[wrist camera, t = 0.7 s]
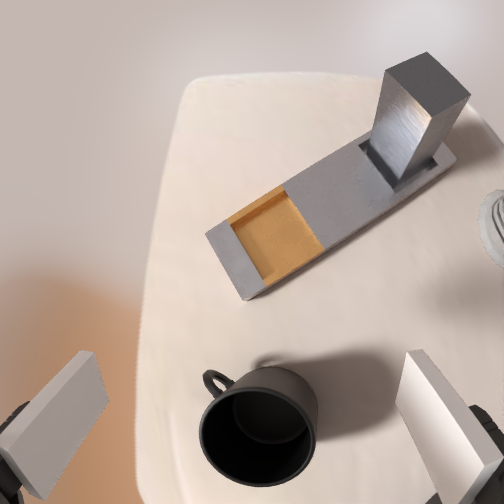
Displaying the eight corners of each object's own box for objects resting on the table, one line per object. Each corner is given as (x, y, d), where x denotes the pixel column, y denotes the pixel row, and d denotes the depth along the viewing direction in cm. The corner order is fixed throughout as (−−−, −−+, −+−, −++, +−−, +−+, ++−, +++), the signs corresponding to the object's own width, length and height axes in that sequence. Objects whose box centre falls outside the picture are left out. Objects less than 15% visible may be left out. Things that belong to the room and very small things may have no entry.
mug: (249, 331, 32) (224, 339, 23) (336, 405, 29) (341, 438, 20) (194, 391, 32) (155, 414, 23) (275, 461, 29) (259, 504, 20)
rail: (451, 166, 30) (457, 159, 28) (247, 301, 33) (242, 300, 31) (409, 115, 32) (412, 106, 30) (210, 237, 35) (204, 233, 33)
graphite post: (425, 167, 30) (471, 94, 17) (393, 189, 31) (431, 117, 17) (398, 134, 32) (426, 51, 18) (366, 153, 32) (384, 70, 19)
